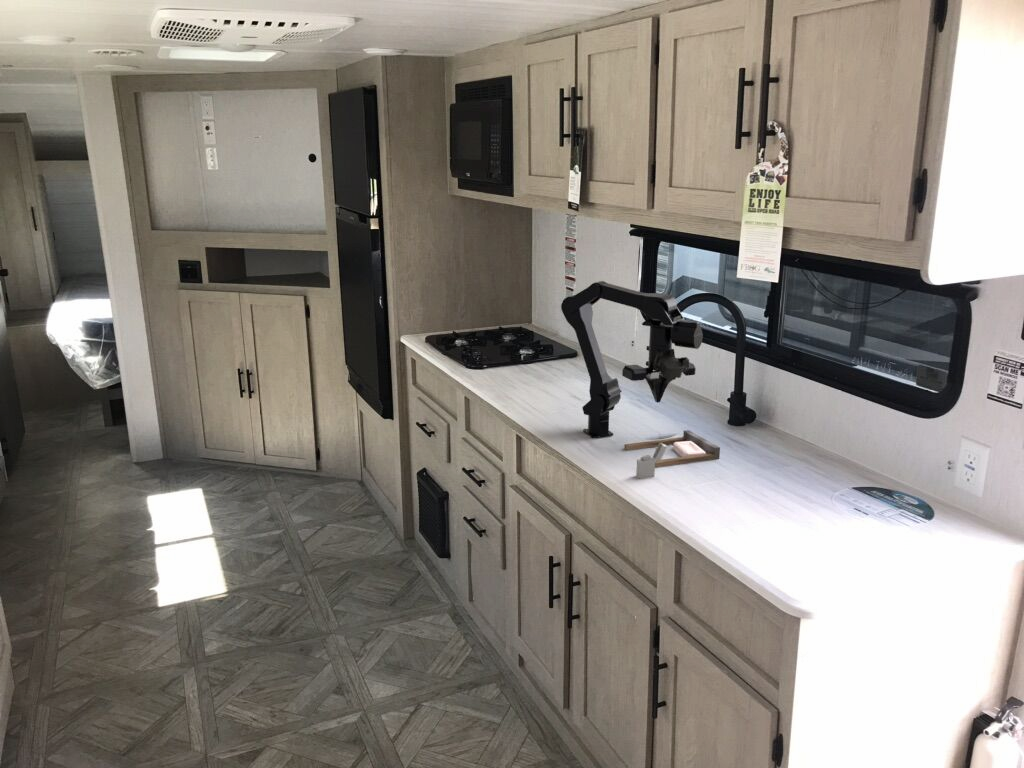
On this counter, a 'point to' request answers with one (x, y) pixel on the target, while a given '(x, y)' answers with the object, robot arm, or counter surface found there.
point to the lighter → (649, 462)
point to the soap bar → (687, 449)
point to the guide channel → (705, 445)
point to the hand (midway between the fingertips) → (657, 402)
